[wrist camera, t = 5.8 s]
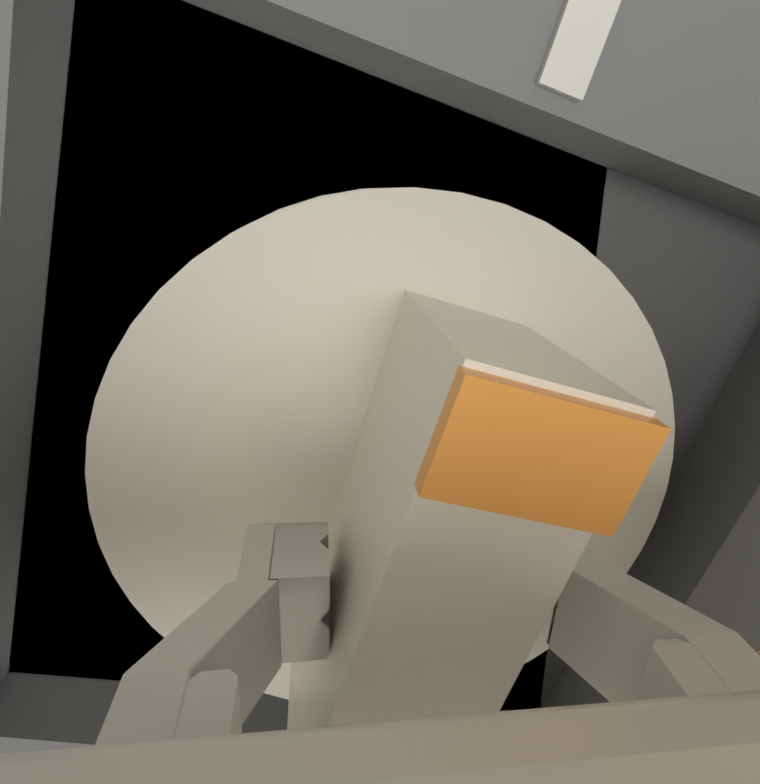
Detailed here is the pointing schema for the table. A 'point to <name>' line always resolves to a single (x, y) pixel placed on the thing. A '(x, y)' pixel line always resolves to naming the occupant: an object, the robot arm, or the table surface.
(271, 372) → the dial knob
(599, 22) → the grey square frame
